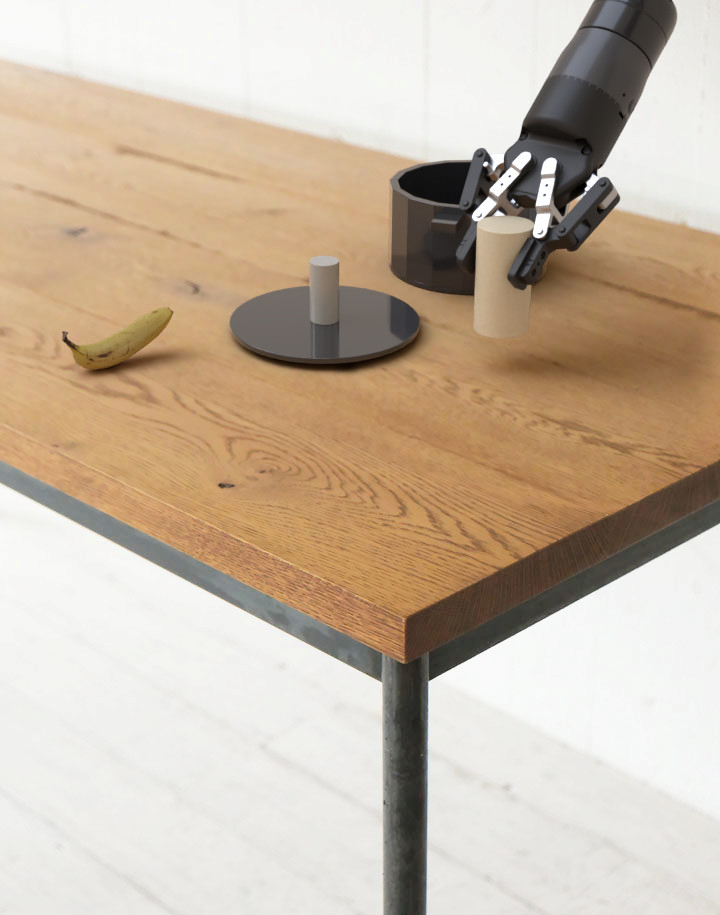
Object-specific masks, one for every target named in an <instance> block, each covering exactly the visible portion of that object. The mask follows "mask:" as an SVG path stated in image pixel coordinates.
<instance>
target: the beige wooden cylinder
mask: <svg viewBox="0 0 720 915" xmlns="http://www.w3.org/2000/svg"><path fill="white" fill-rule="evenodd" d="M534 225H535V224H534V223H533V222H532V221H530V220H528V219H526V218H522V217H517V216H506V215H501V216H491V217H486V218H483V219H481V220H479V221H478V223H477V241H476V269H475V295H473V296H474V300H473V325H472V327H473V330H474V332H475V333H477V334H478V335H479V336H482V337H486V338H489V339H495V340H496V339H497V340H511V339H517V338H520V337H523V336H525V335H526V334H528V332H529V330H530V316H531V297H532V285H527V287H526V289H525V290H519V289H516V288H514V287H513V286H512V284H511V283H510V282H509V281H508V279H507V275H508V272H509V270H510V268H511V267H512V265H513V263H514V261H515V259H516V258H517V256H518V254H519V252H520V250H521V249H522V247H523V245H524V243H525V241H526V240H527V238H531V239H532V238H533V237H534V236H533V229H534Z"/></svg>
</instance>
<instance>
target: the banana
mask: <svg viewBox="0 0 720 915" xmlns="http://www.w3.org/2000/svg"><path fill="white" fill-rule="evenodd" d="M173 315H174V311H173V310H172V309H171V308H170V307H160V308H156V309H154V310H151V311H149V312H147V313H146V314H144V315H141V316H140V317H138V318H137V319H135V320H134V321H132V322H131V323H129V324H128V325H126V326H125V327H124V328H122V329H120V330H119V331H117V332H115V333H113V334H112V335H109V336H108V337H105V338H103V339H101V340H99V341H96V342H93V343H89V344H76V343H74V342H73V341H71V340H70V339H68V334H69V331H64V330H63V331H61V333H62V338H61V341H62V342H63V343H65V344H66V346H67V347H68V348H69V349H70V351H71V352H72V355H73V360H74V362H75V363H76V364H77V365H78V366H79V367H81V368H83V369H87V370H95V371H97V370H103V369H107V368H111V367H114V366H116V365H118V364H121V363H122V362H124V361H126V360H128V359H129V358H131V357H132V356H134V355H136V354H137V353H138V352H140V351H141V350H142V349H144V348H145V347H147V346H148V345H149V344H150V343H152V342H153V341H154V340H156V338H158V336H160V335H161V333H163V331H164V330H165V329H166V327H167V326H168V325H169V323H170V321H171V319H172V317H173Z"/></svg>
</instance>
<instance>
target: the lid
mask: <svg viewBox="0 0 720 915" xmlns="http://www.w3.org/2000/svg"><path fill="white" fill-rule="evenodd" d="M308 266H309V268H308V272H309V273H308V274H309V275H308V276H309V277H308V278H309V280H308V281H309V285H302V286H294V287H287V288H281V289H276V290H272V291H269V292H265V293H262V294H260V295H257V296H255V297H253V298H250V299H248V300H246V301H245V302H243V303H241V304H240V305H238V306H237V307H236V309H234V310H233V312H232V313H231V315H230V318H229V324H228V325H229V331H230V332H229V333H230V334H231V335H232V336H231V337H232V338H233V339H234V340H235V341H236V342H237V343H238V344H239V345H241V346H242V347H244V348H245V349H247V350H249V351H251V352H253V353H255V354H259V355H262V356H264V357H268V358H271V359H276V360H280V361H284V362H292V363H301V364H314V365H315V364H316V365H333V364H334V365H335V364H347V363H356V362H363V361H368V360H373V359H376V358H380V357H384V356H387V355H389V354H392V353H394V352H397V351H399V350H401V349H402V348H404V347H406V346H407V345H409V344H410V343H412V341H414V339H415V338H416V337H417V335H418V333H419V331H420V326H421V325H420V324H421V321H420V317H419V314H418V312H417V310H416V309H414V308H413V306H411V305H410V304H409V303H407V302H405V301H404V300H402V299H400V298H398V297H396V296H393V295H391V294H389V293H385V292H381V291H379V290H374V289H370V288H365V287H364V288H363V287H357V286H349V285H340V259H339V258H338V257H336V256H333V255H316V256H313V257H310V259H309V260H308Z"/></svg>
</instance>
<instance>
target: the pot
mask: <svg viewBox="0 0 720 915" xmlns="http://www.w3.org/2000/svg"><path fill="white" fill-rule="evenodd" d="M471 161H472V159H450V160H449V159H445V160H438V161H431V162H430V161H429V162H424V163H417V164H415V165H412V166H409V167H406V168H403V169H400V170H398V171H397V172H396V173H395V174H393V176H392V177H391V178H389V181H388V182H389V184H388V185H389V187H388V246H387V247H388V248H387V251H388V252H387V258H388V262H389V263H388V264H389V269H390V271H391V272H392V274H393V275H394V276H395V277H396V278H398V279H399V280H400V281H403V282H404V283H407V284H409V285H411V286H414V287H418V288H420V289H424V290H428V291H432V292H438V293H445V294H451V295H452V294H453V295H468V296H475V273H474V274H472V275H471V274H468V273H465V272H463V271H462V269H461V268H460V267H459V266H458V265H457V263H456V260H457V257H456V251H457V249H458V247H459V245H460V244H461V242H462V241H463V238H464V236H465V235H466V233H467V231H468V229H469V228H470V226H471V221H470V220H469V219H468V218H467V216H466V215H465V214H464V213H463V211H462V210H461V209H460V208H459V203H460V199H461V196H462V193H463V189H464V186H465V182H466V179H467V175H468V172H469V168H470V165H471ZM504 174H505V170H503V171H502V172H501V173H500V175H499V178H501V177H502V176H503V175H504ZM495 183H496V182H495V181H494V184H495ZM507 199H508V200H509V202H510V201H511V200H512V199H513V198H512V197H511V196H510V194H509V193H507ZM497 210H498V209H497ZM497 210H496V211H497ZM496 211H495V212H496ZM495 212H494V213H495ZM494 213H493V214H494ZM493 214H492V215H493ZM492 215H491V216H492ZM491 216H490V217H491ZM536 216H537V212H536V208H524V209H523V210H522V211H521V212H520V213H519V215H518V216H517V217H522V218H526V219H528V220H530V221H532V222H533V223H534V224H535V220H536ZM549 260H550V255H549V256H548V258H547V260H546V262H545V263H544V265H543V267H542V269H541V271H540V273H539V274H538V276H537V278H536V280H535V281H534V282H533V283H532V284H531V286H532V285H534V284H536V283H539V281H541V280H542V279H543V278H544V276H545V275H546V273H547V267H548V265H549Z"/></svg>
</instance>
